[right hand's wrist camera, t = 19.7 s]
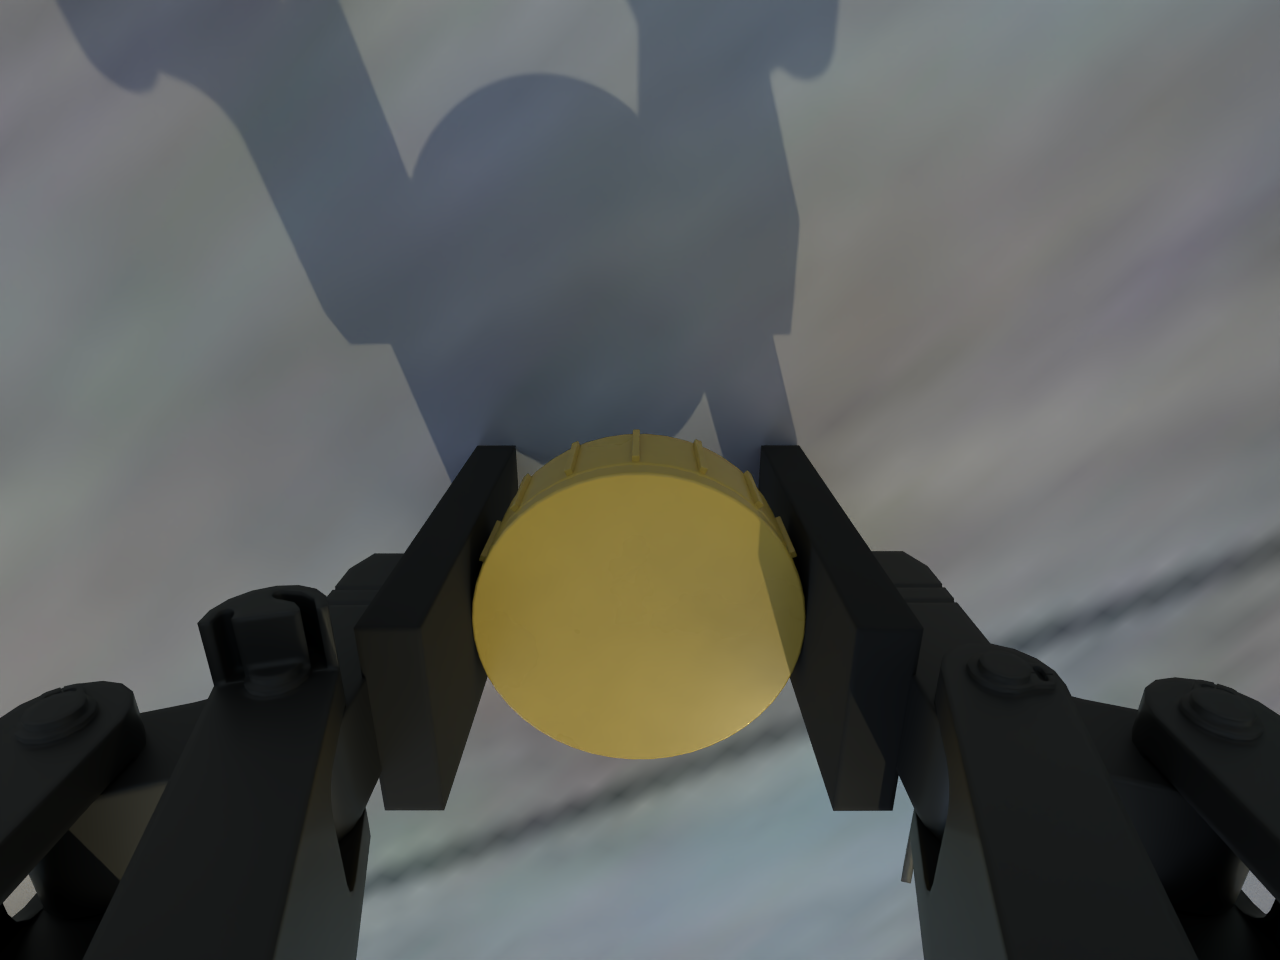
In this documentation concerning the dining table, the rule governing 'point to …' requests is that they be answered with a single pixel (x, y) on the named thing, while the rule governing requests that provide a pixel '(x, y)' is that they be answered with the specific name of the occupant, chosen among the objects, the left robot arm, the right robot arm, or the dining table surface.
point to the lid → (638, 599)
